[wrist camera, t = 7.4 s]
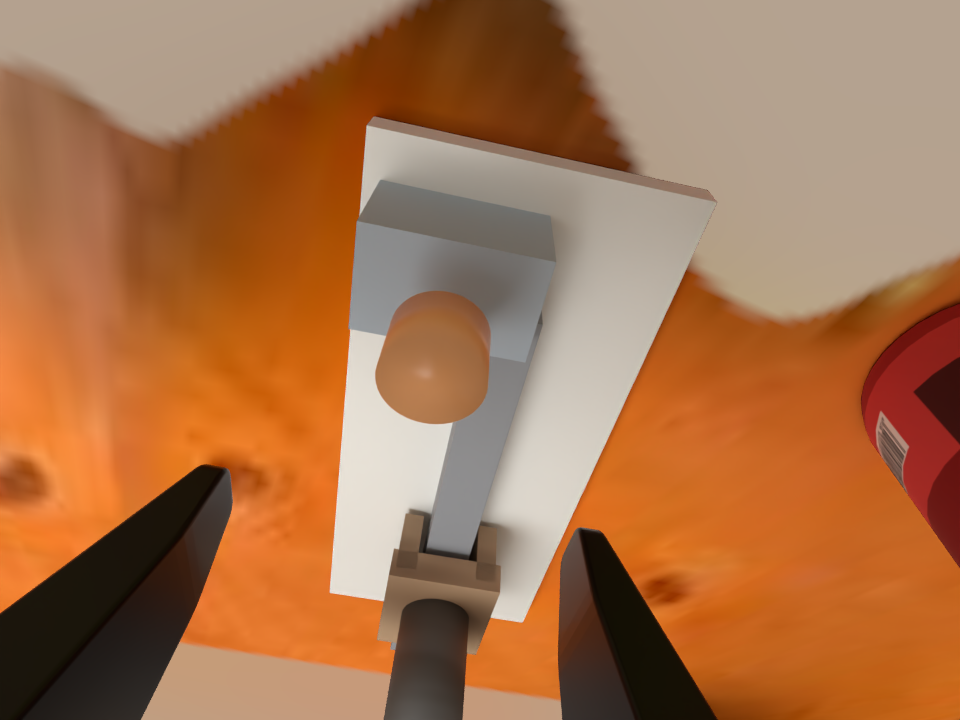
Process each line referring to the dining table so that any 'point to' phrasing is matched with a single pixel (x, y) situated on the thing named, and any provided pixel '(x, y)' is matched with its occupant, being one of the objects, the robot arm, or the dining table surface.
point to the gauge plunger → (435, 358)
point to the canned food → (921, 419)
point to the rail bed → (564, 370)
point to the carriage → (435, 622)
